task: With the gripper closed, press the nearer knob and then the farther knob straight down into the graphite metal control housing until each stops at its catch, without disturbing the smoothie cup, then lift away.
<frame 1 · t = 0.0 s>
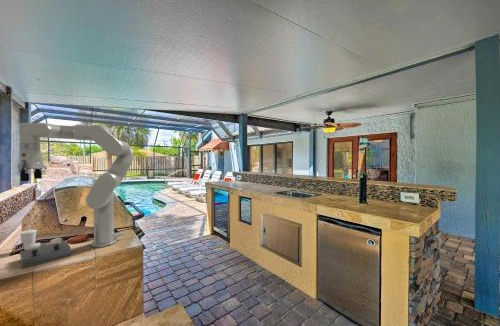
hand: (31, 179, 116), 37 cm above the countertop, tool pointing down, fingers open, 9 cm apart
knob 2: (56, 244, 112), point 5 cm above the countertop, slide at 0.0 cm
knob 1: (34, 249, 106), point 5 cm above the countertop, slide at 0.0 cm
smoothie: (29, 249, 117), on the countertop
housing: (46, 257, 109), on the countertop
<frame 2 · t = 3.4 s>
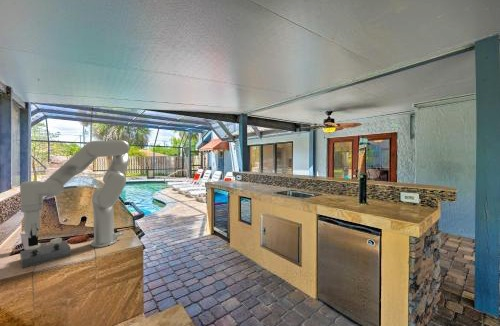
hand: (33, 245, 105), 8 cm above the countertop, tool pointing down, fingers closed
knob 1: (34, 249, 106), point 5 cm above the countertop, slide at 0.1 cm, touching gripper
everything else where it was.
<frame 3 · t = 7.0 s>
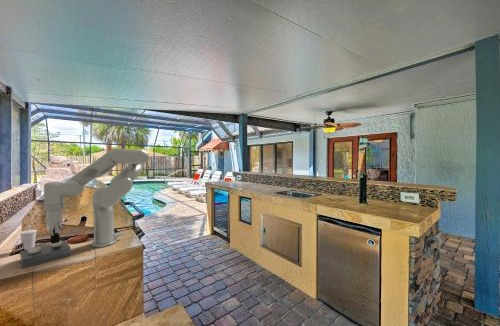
hand: (55, 242, 112), 6 cm above the countertop, tool pointing down, fingers closed
knob 2: (56, 246, 112), point 4 cm above the countertop, slide at 1.3 cm
knob 1: (34, 253, 106), point 3 cm above the countertop, slide at 1.9 cm
everything else where it was.
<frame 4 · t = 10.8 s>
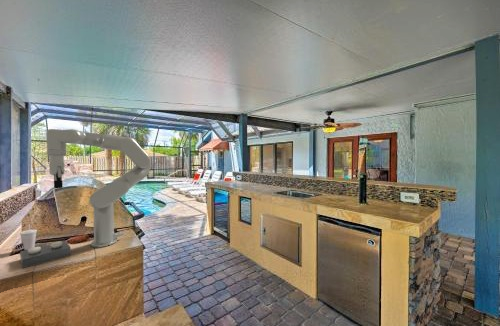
hand: (58, 187, 116), 33 cm above the countertop, tool pointing down, fingers closed
knob 2: (56, 247, 112), point 3 cm above the countertop, slide at 1.9 cm
everything else where it was.
at the end: knob 1 slide at 1.9 cm; knob 2 slide at 1.9 cm; smoothie moved 0.2 cm from its start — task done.
